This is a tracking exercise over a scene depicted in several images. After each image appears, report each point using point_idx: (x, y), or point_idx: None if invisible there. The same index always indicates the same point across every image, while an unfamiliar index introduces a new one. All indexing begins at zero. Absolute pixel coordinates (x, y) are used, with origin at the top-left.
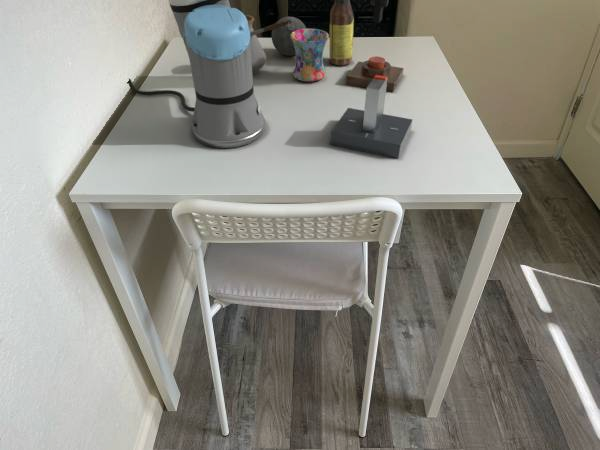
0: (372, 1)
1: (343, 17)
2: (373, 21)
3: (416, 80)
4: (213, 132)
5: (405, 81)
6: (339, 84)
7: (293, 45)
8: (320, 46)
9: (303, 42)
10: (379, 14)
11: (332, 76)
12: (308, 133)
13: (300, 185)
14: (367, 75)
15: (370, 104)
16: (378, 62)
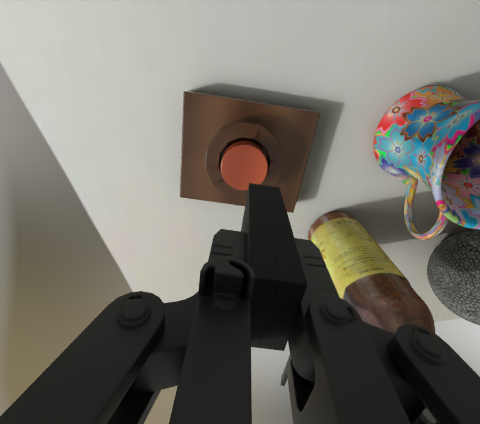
0: (308, 253)
1: (383, 294)
2: (276, 187)
3: (149, 174)
4: None
5: (172, 163)
6: (332, 106)
7: (476, 238)
8: (456, 121)
9: None
10: (251, 199)
11: (351, 152)
12: None
13: None
14: (263, 124)
15: None
16: (237, 147)
